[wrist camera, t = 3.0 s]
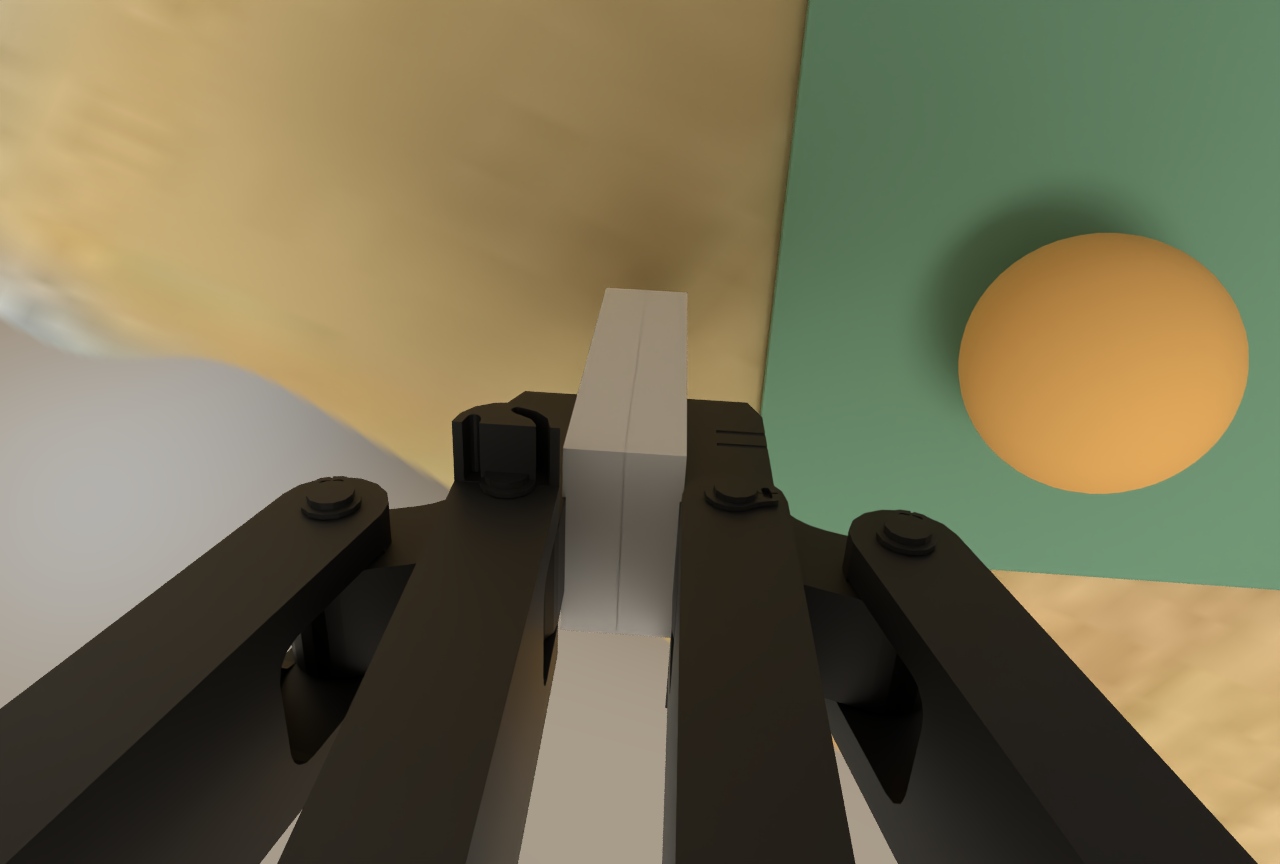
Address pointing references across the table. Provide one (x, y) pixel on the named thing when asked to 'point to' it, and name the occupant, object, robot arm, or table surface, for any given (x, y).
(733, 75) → the table surface
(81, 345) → the table surface
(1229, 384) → the orange ball
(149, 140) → the table surface
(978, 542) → the putting mat
